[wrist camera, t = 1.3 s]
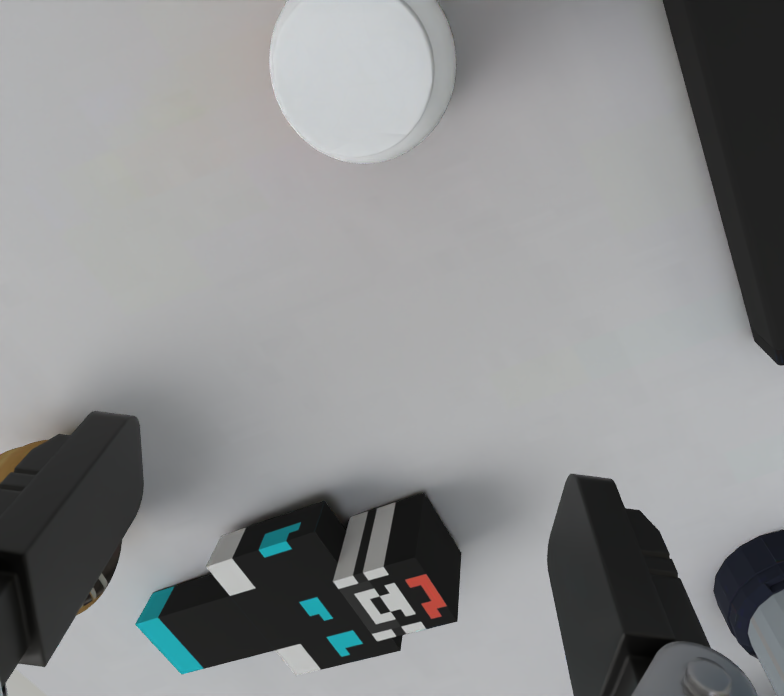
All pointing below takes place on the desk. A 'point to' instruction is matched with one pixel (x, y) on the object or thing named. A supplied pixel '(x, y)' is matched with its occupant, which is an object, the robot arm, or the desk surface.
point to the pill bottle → (362, 74)
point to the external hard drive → (742, 139)
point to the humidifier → (756, 601)
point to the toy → (312, 590)
